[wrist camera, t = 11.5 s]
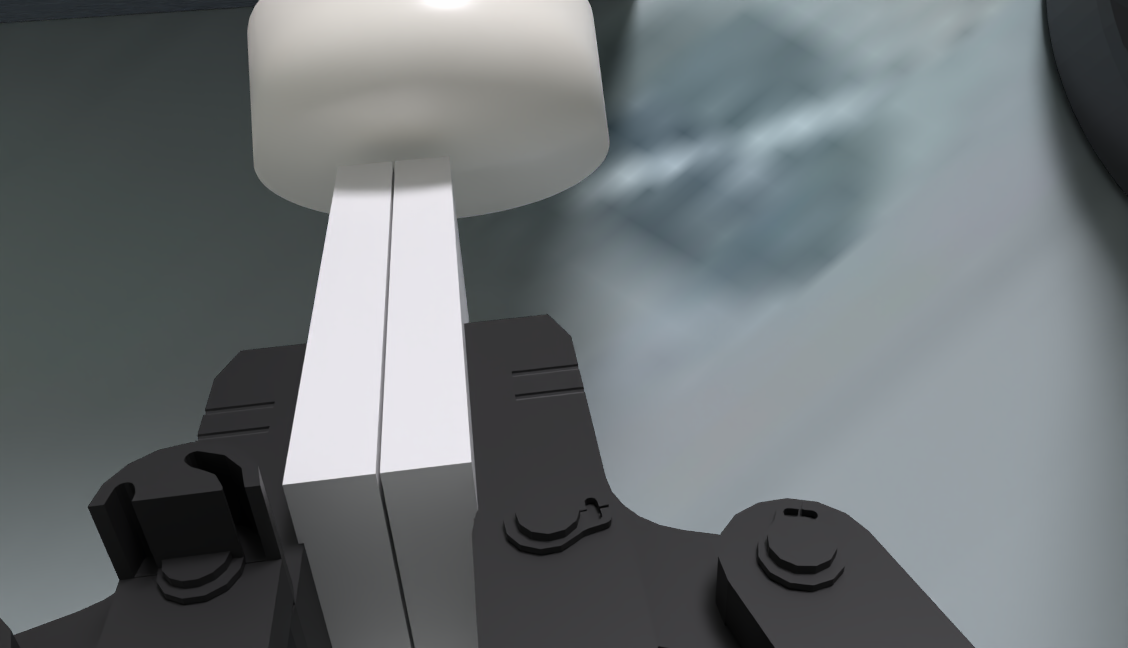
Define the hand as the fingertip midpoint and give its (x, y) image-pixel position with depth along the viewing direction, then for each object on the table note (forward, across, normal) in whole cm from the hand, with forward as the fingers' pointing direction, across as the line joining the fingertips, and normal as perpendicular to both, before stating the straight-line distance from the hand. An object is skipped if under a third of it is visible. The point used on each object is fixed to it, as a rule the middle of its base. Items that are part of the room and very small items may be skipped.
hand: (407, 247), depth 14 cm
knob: (+6, +1, +3) cm, 7 cm away
